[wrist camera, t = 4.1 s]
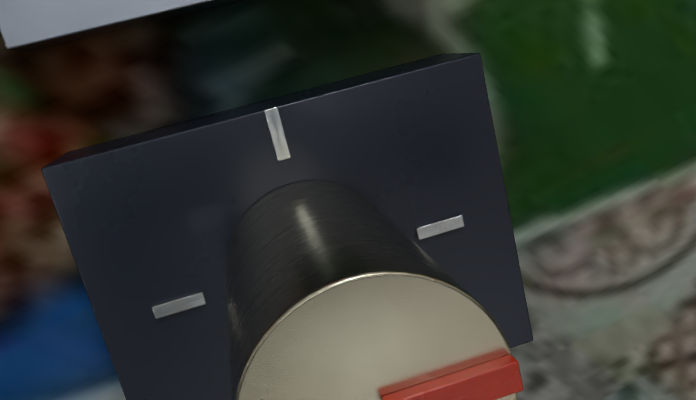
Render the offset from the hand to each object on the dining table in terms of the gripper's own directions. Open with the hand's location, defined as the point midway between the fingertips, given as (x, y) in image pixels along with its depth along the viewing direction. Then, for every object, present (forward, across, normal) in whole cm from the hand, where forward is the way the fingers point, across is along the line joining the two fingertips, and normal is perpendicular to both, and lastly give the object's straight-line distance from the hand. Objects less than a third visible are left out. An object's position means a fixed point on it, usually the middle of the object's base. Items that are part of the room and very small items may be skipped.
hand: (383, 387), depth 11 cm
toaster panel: (+10, 0, 0) cm, 10 cm away
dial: (+7, 0, 0) cm, 7 cm away
